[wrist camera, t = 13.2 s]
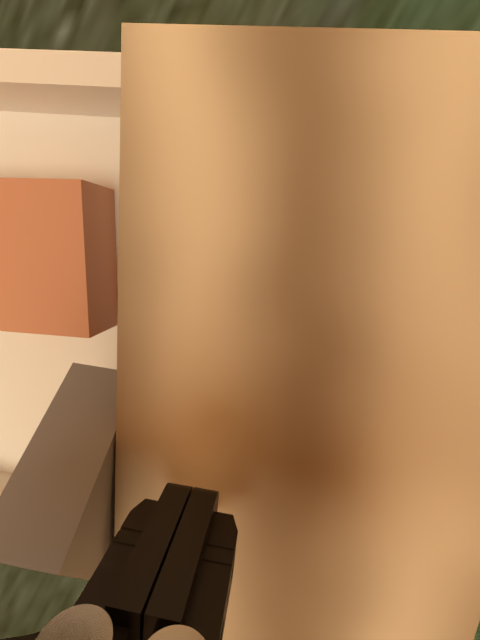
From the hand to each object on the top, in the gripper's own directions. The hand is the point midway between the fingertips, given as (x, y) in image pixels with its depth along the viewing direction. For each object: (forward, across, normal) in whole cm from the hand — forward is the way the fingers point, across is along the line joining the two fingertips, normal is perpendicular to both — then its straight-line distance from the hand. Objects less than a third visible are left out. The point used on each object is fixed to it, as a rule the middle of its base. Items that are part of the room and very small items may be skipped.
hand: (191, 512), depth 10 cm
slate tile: (+2, +3, +2) cm, 4 cm away
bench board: (+7, -3, -3) cm, 9 cm away
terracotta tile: (+4, +9, -6) cm, 12 cm away
